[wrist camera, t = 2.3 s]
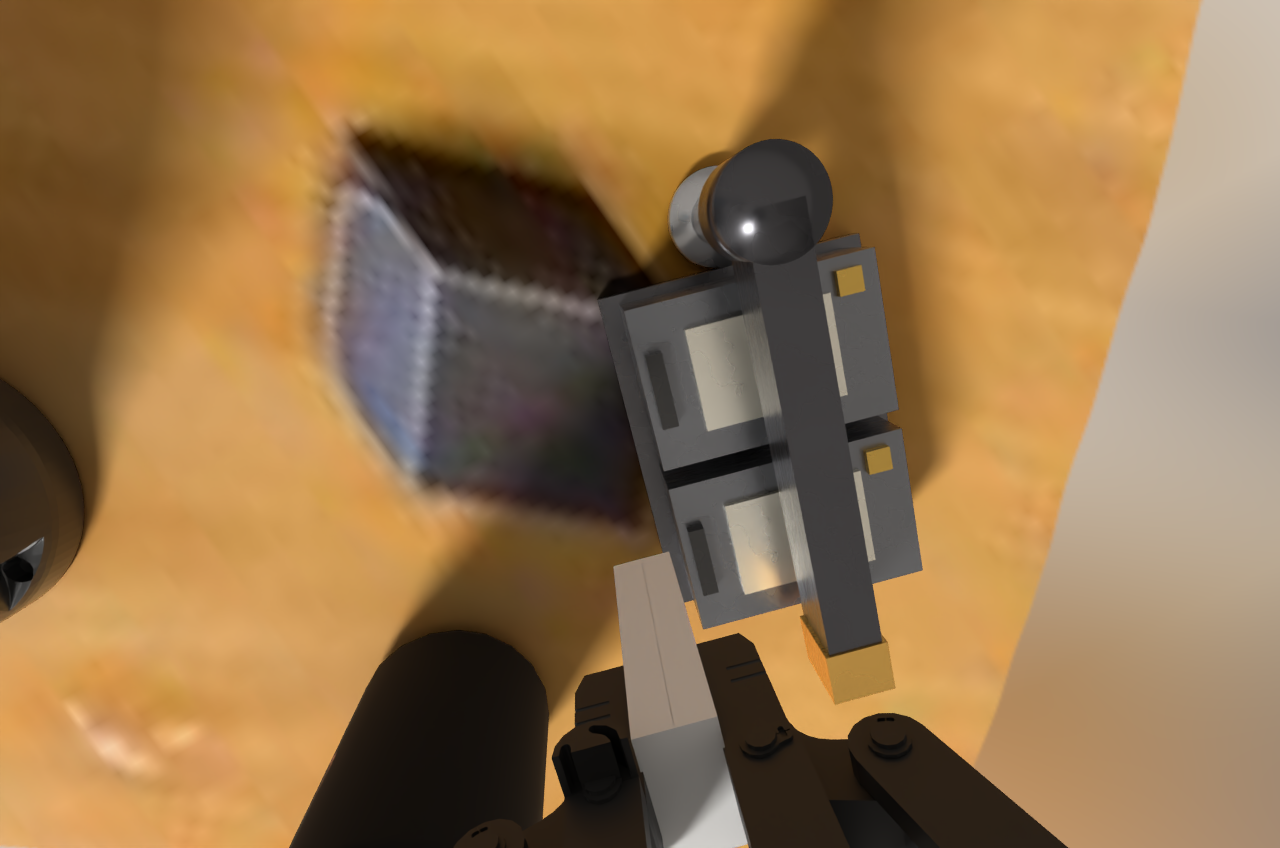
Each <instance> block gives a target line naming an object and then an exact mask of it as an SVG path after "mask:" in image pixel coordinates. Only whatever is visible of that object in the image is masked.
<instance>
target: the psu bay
mask: <svg viewBox="0 0 1280 848" xmlns="http://www.w3.org/2000/svg"><path fill="white" fill-rule="evenodd" d="M814 247H815V252H816V258H817V264H818V270H819V276H820V282H821V287H822V293H823V299H824V305H825V311H826V317H827V322H828V328H829V334H830V340H831V346H832V352H833V357H834V363H835V369H836V375H837V381H838V387H839V392H840V398H841V404H842V410H843V416H844V422H845V427H846V433H847V439H848V445H849V451H850V457H851V462H852V468H853V474H854V480H855V486H856V492H857V497H858V503H859V509H860V515H861V521H862V527H863V532H864V538H865V544H866V550H867V556H868V562H869V567H870V573H871V579H872V584H874V583H877V582H881V581H885V580H888V579H892V578H896V577H900V576H903V575H907V574H911V573H914V572H918V571H922V570H923V569H922V562H921V555H920V549H919V542H918V535H917V528H916V522H915V515H914V508H913V502H912V495H911V488H910V481H909V475H908V468H907V461H906V454H905V448H904V441H903V434H902V428H900V427H898V426H896V425H894V424H892V423H891V422H889V421H888V418H887V413H888V412H892V411H895V410H899V407H898V401H897V394H896V387H895V381H894V374H893V367H892V360H891V354H890V347H889V340H888V334H887V327H886V320H885V313H884V307H883V300H882V293H881V287H880V280H879V273H878V266H877V260H876V253H875V247H861V242H860V236H859V233H856V234H849V235H845V236H841V237H837V238H833V239H829V240H826V241H822V242H818V243H817V244H816V245H815V246H814ZM597 300H598V304H599V308H600V312H601V316H602V319H603V323H604V327H605V331H606V335H607V339H608V343H609V347H610V350H611V354H612V358H613V362H614V366H615V370H616V374H617V378H618V381H619V385H620V389H621V393H622V397H623V401H624V405H625V409H626V412H627V416H628V420H629V424H630V428H631V432H632V436H633V440H634V443H635V447H636V451H637V455H638V459H639V463H640V467H641V471H642V474H643V478H644V482H645V486H646V490H647V494H648V498H649V502H650V505H651V509H652V513H653V517H654V521H655V525H656V529H657V533H658V536H659V540H660V544H661V548H662V552H663V553H665V552H669V553H670V557H671V560H672V563H673V567H674V570H675V574H676V577H677V580H678V584H679V587H680V591H681V594H682V598H683V601H684V602H688V601H692V600H694V603H695V606H696V609H697V612H698V615H699V618H700V621H701V624H702V627H703V629H707V628H711V627H714V626H718V625H722V624H725V623H729V622H733V621H737V620H740V619H744V618H748V617H751V616H755V615H759V614H763V613H766V612H770V611H774V610H777V609H781V608H785V607H788V606H792V605H796V604H800V603H801V599H800V594H799V589H798V584H797V579H796V574H795V569H794V564H793V559H792V555H791V550H790V545H789V540H788V535H787V530H786V525H785V520H784V515H783V510H782V505H781V501H780V496H779V491H778V486H777V481H776V476H775V471H774V466H773V461H772V456H771V451H770V447H769V442H768V437H767V432H766V427H765V422H764V417H763V412H762V407H761V402H760V397H759V392H758V388H757V383H756V378H755V373H754V368H753V363H752V358H751V353H750V348H749V343H748V338H747V334H746V329H745V324H744V319H743V314H742V309H741V304H740V299H739V294H738V289H737V284H736V280H735V275H734V270H733V265H731V266H728V267H723V268H716V269H712V270H708V271H704V272H700V273H697V274H693V275H689V276H685V277H681V278H677V279H673V280H669V281H665V282H661V283H657V284H654V285H650V286H646V287H642V288H638V289H634V290H630V291H626V292H622V293H618V294H614V295H611V296H607V297H603V298H599V299H597Z"/></svg>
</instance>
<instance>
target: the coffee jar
mask: <svg viewBox="0 0 1280 848" xmlns="http://www.w3.org/2000/svg"><path fill="white" fill-rule="evenodd" d="M548 721H549V710H548V704H547V697H546V690H545V687H544V686H543V684H542V682H541V680H540V678H539V676H538V675H537V673H536V671H535V669H534V667H533V666H532V664H531V663H530V662H529V661H528V660H526V659H525V658H524V657H523V656H522V655H521V654H520V653H519V652H518V651H517V650H515V649H514V648H513V647H512V646H510V645H508V644H506V643H504V642H502V641H500V640H497V639H495V638H493V637H491V636H489V635H487V634H481V633H475V632H468V631H461V630H456V631H448V632H441V633H433V634H428V635H426V636H424V637H422V638H419V639H417V640H415V641H412V642H410V643H408V644H406V645H403V646H402V647H400V648H399V649H398V650H396V651H395V652H394V653H393V654H392V655H391V656H390V657H388V658H387V659H386V660H385V661H384V662H383V663H382V664H380V665H379V667H378V668H377V670H376V672H375V674H374V675H373V677H372V679H371V681H370V683H369V684H368V686H367V688H366V690H365V692H364V694H363V696H362V698H361V700H360V702H359V704H358V706H357V708H356V710H355V712H354V715H353V717H352V719H351V721H350V723H349V725H348V727H347V729H346V731H345V733H344V735H343V737H342V739H341V741H340V743H339V746H338V748H337V750H336V752H335V754H334V756H333V758H332V760H331V762H330V764H329V766H328V768H327V770H326V772H325V774H324V777H323V779H322V781H321V783H320V785H319V787H318V789H317V791H316V793H315V795H314V797H313V799H312V801H311V803H310V805H309V808H308V810H307V812H306V814H305V816H304V818H303V820H302V822H301V824H300V826H299V828H298V830H297V832H296V834H295V836H294V839H293V841H292V843H291V845H290V847H289V848H453V847H454V846H455V844H456V843H457V841H459V840H460V839H461V838H462V837H463V836H464V835H465V834H466V833H467V832H468V831H470V830H471V829H473V828H475V827H477V826H478V825H480V824H482V823H484V822H487V821H492V820H496V819H506V820H512V821H514V822H515V823H516V824H518V825H519V826H521V828H522V831H523V830H525V829H527V828H528V827H530V826H532V825H534V824H536V823H537V822H539V821H541V820H542V819H543V803H544V786H545V770H546V753H547V737H548Z"/></svg>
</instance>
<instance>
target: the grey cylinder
mask: <svg viewBox="0 0 1280 848" xmlns="http://www.w3.org/2000/svg"><path fill="white" fill-rule="evenodd" d="M717 167H718V166H710V167H706V168H703V169H701V170H698V171H696V172H695V173H693V174H692V175H690V176H689V177H687V178H686V179H685V180H684V181H683V182H682V183H681V184H680V185H679V186H678V188H677V189H676V191H675V192H674V194H673V196H672V199H671V202H670V205H669V209H668V228H669V233H670V236H671V238H672V241H673V243H674V244H675V246H676V248H677V249H678V250H679V252H680V253H681V254H682V255H683V256H684V257H686V258H687V259H688V260H690V261H691V262H693V263H695V264H698V265H700V266H704V267H711V268H723V267H728V266H731V265H732V261H731V260H728V259H726V258H724V257H723V256H721V255H720V254H718V253H717V252H716V251H715V250H714V249H713V248H712V247H711V246H710V244H709V243H708V242H707V240H706V238H705V237H704V235H703V232H702V230H701V226H700V223H699V216H698V205H699V198H700V194H701V191H702V188H703V186H704V184H705V182H706V180H707V178H708V177H709V175H710V174H711V173H712V172H713V171H714V169H715V168H717Z"/></svg>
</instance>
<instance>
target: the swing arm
mask: <svg viewBox="0 0 1280 848" xmlns="http://www.w3.org/2000/svg"><path fill="white" fill-rule="evenodd" d="M832 206H833V194H832V187H831V182H830V179H829V176H828V173H827V172H826V170H825V168H824V166H823V164H822V163H821V162H820V160H819V159H818V158H817V157H816V156H815V155H814V154H813V153H812V152H811V151H810V150H808V149H807V148H805V147H804V146H802V145H800V144H798V143H795V142H792V141H789V140H783V139H769V140H764V141H760V142H757V143H754V144H752V145H750V146H748V147H746V148H745V149H743V150H742V151H740V152H738V153H737V154H735V155H734V156H732V157H730V158H729V159H727V160H726V161H724V162H723V163H721V164H720V165H719V166H718V167H717V168H715V169H714V171H713V172H712V173H711V174H710V175H709V177H708V178H707V180H706V182H705V184H704V186H703V188H702V191H701V194H700V198H699V205H698V216H699V223H700V226H701V230H702V232H703V235H704V237H705V238H706V240H707V242H708V243H709V244H710V246H711V247H712V248H713V249H714V250H715V251H716V252H717V253H718V254H720V255H721V256H723V257H724V258H726V259H728V260H731V261H732V265H733V270H734V275H735V280H736V284H737V289H738V294H739V299H740V304H741V309H742V314H743V319H744V324H745V329H746V334H747V338H748V343H749V348H750V353H751V358H752V363H753V368H754V373H755V378H756V383H757V388H758V392H759V397H760V402H761V407H762V412H763V417H764V422H765V427H766V432H767V437H768V442H769V447H770V451H771V456H772V461H773V466H774V471H775V476H776V481H777V486H778V491H779V496H780V501H781V505H782V510H783V515H784V520H785V525H786V530H787V535H788V540H789V545H790V550H791V555H792V559H793V564H794V569H795V574H796V579H797V584H798V589H799V594H800V599H801V604H802V609H803V613H804V615H803V616H800V619H801V624H802V629H803V634H804V639H805V644H806V648H807V653H808V658H809V660H810V662H811V663H812V665H813V667H814V669H815V670H816V672H817V674H818V676H819V677H820V679H821V681H822V683H823V684H824V686H825V688H826V690H827V691H828V693H829V695H830V697H831V698H832V700H833V702H834V704H835V705H836V704H840V703H843V702H847V701H851V700H854V699H858V698H862V697H865V696H869V695H873V694H876V693H880V692H884V691H887V690H891V689H894V688H895V682H894V677H893V671H892V665H891V659H890V653H889V647H888V642H887V641H886V639H885V638H884V637H883V636H882V634H881V632H880V626H879V620H878V614H877V608H876V602H875V597H874V591H873V585H872V579H871V573H870V567H869V562H868V556H867V550H866V544H865V538H864V532H863V527H862V521H861V515H860V509H859V503H858V497H857V492H856V486H855V480H854V474H853V468H852V462H851V457H850V451H849V445H848V439H847V433H846V427H845V422H844V416H843V410H842V404H841V398H840V392H839V387H838V381H837V375H836V369H835V363H834V357H833V352H832V346H831V340H830V334H829V328H828V322H827V317H826V311H825V305H824V299H823V293H822V287H821V282H820V276H819V270H818V264H817V258H816V252H815V247H814V246H815V245H816V244H817V243H818V241H819V240H820V239H821V237H822V236H823V234H824V232H825V230H826V228H827V226H828V223H829V220H830V217H831V213H832Z"/></svg>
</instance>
